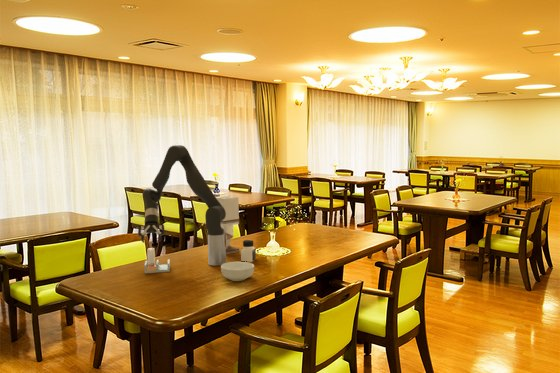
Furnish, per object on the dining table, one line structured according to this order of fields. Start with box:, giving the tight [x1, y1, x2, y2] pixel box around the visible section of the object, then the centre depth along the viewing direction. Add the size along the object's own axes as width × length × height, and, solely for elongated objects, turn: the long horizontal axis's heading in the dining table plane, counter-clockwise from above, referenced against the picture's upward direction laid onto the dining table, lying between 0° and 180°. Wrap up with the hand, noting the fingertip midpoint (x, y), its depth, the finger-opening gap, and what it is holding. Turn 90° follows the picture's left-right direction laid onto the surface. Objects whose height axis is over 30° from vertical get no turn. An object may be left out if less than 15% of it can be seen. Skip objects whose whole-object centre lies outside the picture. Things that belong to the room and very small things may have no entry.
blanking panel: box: [146, 247, 156, 267], centre depth 248 cm, size 6×4×10 cm, turn 13°
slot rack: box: [143, 258, 171, 274], centre depth 248 cm, size 11×13×4 cm
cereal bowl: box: [220, 261, 255, 282], centre depth 230 cm, size 17×17×7 cm
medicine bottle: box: [240, 239, 257, 263], centre depth 266 cm, size 7×7×12 cm
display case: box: [215, 195, 240, 255], centre depth 288 cm, size 11×11×35 cm
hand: (151, 241), depth 251 cm, fingers open, 8 cm apart
